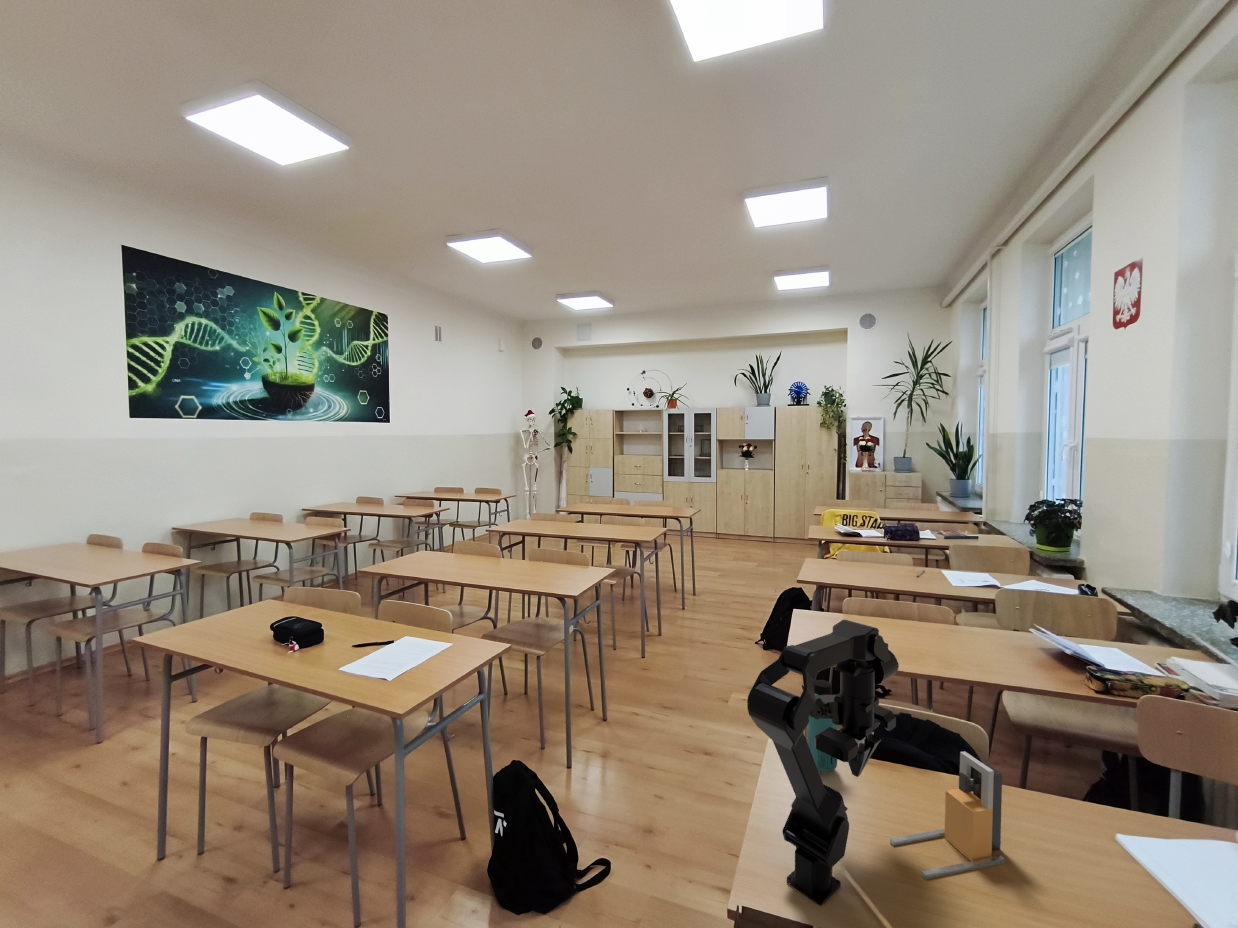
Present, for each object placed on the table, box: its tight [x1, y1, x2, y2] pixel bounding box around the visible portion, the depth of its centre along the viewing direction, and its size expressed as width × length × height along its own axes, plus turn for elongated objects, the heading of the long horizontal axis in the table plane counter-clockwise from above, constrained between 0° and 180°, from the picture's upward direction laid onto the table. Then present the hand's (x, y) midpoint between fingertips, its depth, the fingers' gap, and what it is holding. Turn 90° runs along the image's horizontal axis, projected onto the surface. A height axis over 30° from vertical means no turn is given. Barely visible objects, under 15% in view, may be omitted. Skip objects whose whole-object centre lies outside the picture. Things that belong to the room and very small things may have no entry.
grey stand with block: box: [889, 763, 1006, 880], centre depth 96 cm, size 18×10×15 cm, turn 102°
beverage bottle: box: [806, 679, 839, 772], centre depth 122 cm, size 6×7×20 cm
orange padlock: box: [944, 750, 994, 862], centre depth 97 cm, size 4×6×16 cm, turn 12°
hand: (856, 775), depth 99 cm, fingers closed
